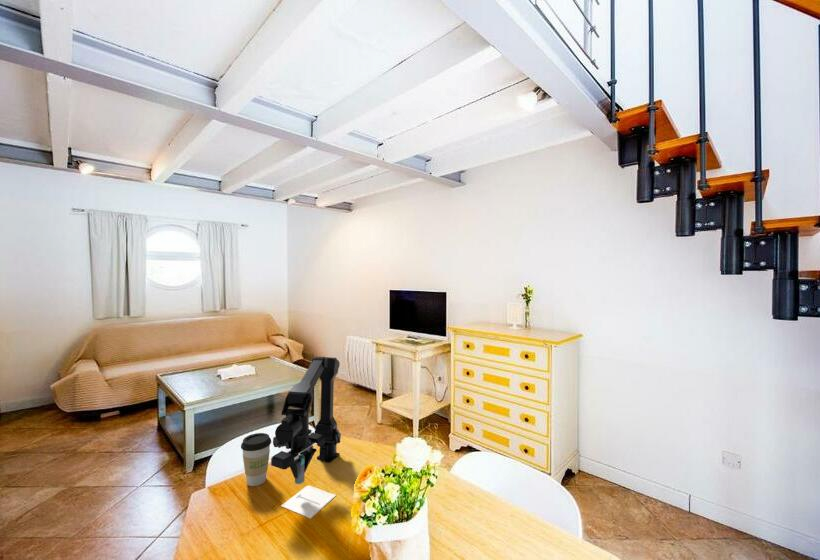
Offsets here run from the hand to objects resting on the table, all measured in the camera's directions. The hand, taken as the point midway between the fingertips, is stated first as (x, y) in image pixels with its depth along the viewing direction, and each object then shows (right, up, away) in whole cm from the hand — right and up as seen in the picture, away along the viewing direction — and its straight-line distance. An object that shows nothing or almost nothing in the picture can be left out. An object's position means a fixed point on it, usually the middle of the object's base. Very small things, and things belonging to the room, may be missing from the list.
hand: (299, 475), depth 116 cm
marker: (0, -2, 0) cm, 2 cm away
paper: (+4, -7, -2) cm, 8 cm away
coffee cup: (-18, -7, +9) cm, 21 cm away
